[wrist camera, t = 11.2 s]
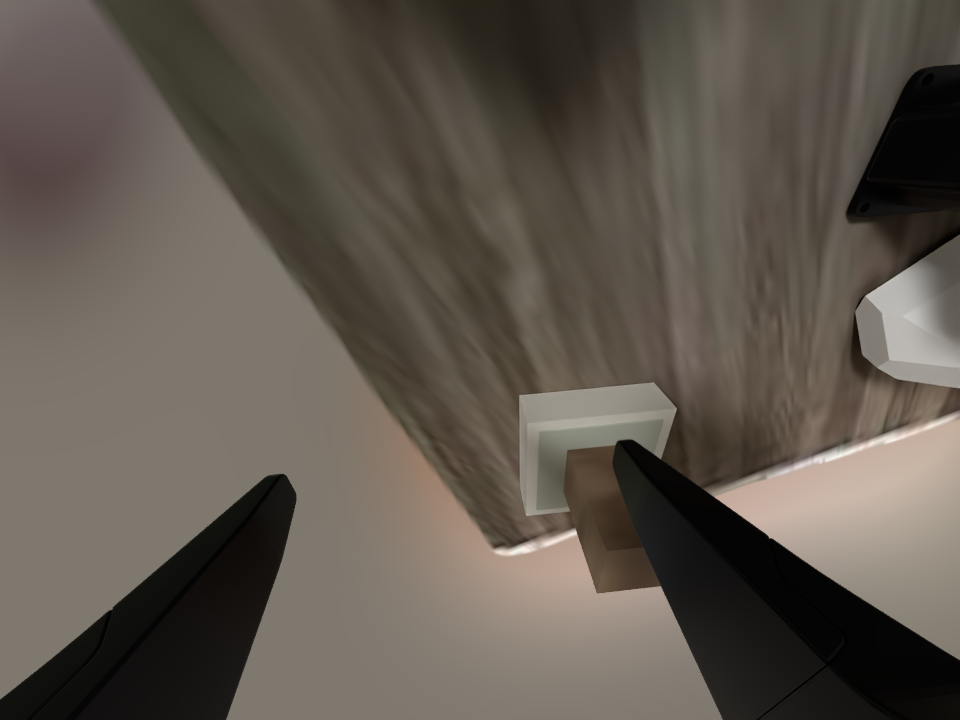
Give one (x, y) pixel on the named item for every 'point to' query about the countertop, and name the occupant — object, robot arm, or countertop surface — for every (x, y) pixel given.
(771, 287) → the countertop surface
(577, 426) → the base slab
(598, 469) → the walnut block
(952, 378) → the crystal
